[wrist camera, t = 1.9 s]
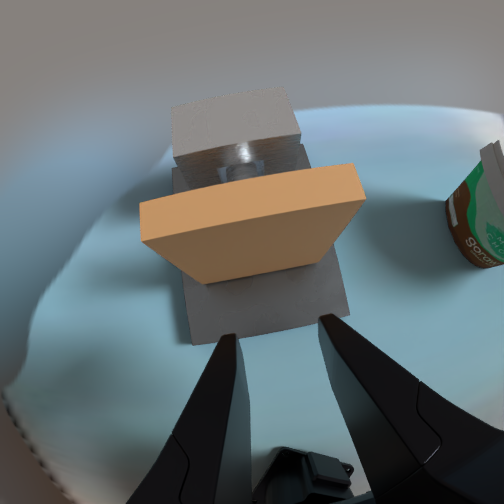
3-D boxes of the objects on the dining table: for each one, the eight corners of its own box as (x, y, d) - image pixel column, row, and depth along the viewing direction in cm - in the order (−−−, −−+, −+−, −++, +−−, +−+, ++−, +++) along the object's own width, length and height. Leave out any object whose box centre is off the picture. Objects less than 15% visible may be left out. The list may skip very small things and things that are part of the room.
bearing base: (344, 315, 20) (392, 307, 12) (197, 344, 20) (153, 354, 12) (301, 153, 24) (312, 82, 15) (176, 177, 24) (141, 113, 15)
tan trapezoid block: (318, 262, 19) (366, 198, 9) (202, 284, 19) (141, 241, 9) (297, 181, 21) (315, 80, 11) (191, 201, 21) (141, 111, 11)
